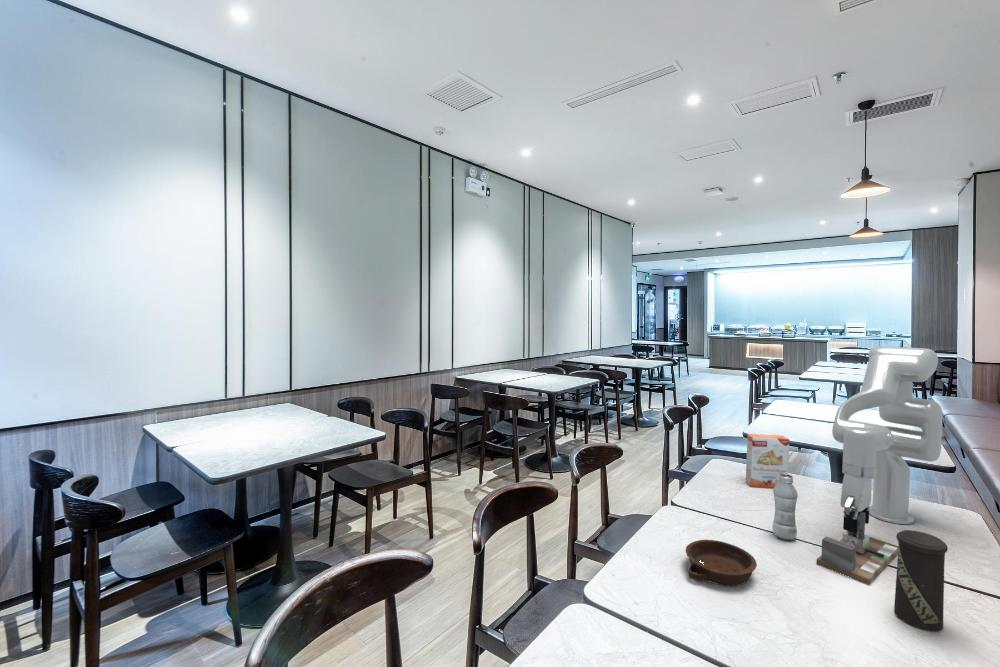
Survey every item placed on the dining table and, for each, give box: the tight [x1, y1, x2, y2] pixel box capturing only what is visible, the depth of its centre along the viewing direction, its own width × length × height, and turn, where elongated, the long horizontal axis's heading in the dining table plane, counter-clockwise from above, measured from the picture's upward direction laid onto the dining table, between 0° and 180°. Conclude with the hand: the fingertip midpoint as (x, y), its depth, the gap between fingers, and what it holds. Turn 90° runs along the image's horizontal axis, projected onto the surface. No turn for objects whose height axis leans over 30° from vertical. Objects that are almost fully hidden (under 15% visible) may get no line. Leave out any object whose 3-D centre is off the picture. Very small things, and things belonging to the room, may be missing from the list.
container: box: [893, 529, 949, 632], centre depth 104 cm, size 9×9×20 cm
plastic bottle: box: [771, 474, 799, 541], centre depth 142 cm, size 6×7×20 cm
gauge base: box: [815, 535, 898, 586], centre depth 130 cm, size 28×12×8 cm, turn 125°
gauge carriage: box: [841, 511, 884, 557], centre depth 129 cm, size 11×9×11 cm
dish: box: [685, 539, 757, 587], centre depth 124 cm, size 17×22×5 cm
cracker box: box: [745, 433, 790, 489], centre depth 184 cm, size 14×6×21 cm, turn 81°
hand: (856, 526), depth 132 cm, fingers open, 9 cm apart
